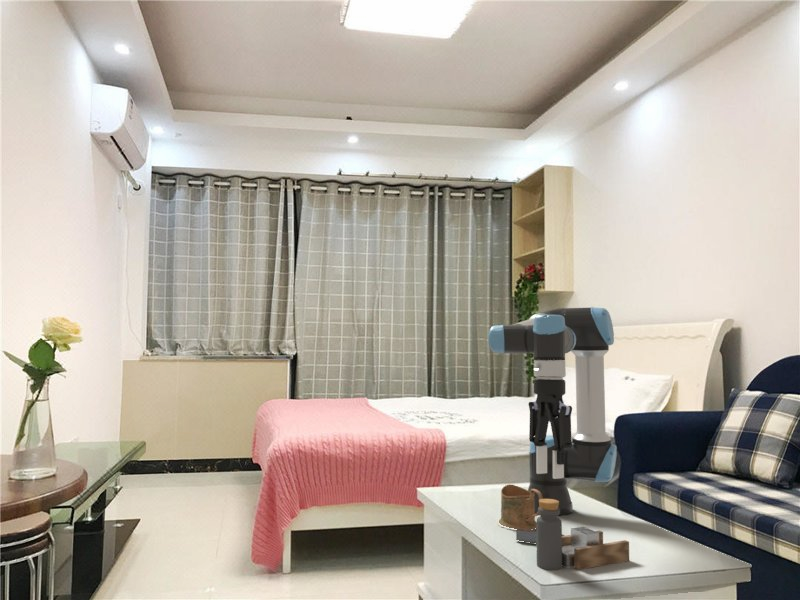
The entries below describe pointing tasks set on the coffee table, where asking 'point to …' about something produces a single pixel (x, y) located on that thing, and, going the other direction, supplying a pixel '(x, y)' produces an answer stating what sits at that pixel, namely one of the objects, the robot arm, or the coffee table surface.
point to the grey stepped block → (578, 543)
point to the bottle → (549, 535)
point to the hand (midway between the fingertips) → (549, 475)
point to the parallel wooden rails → (598, 553)
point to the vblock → (527, 535)
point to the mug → (518, 507)
